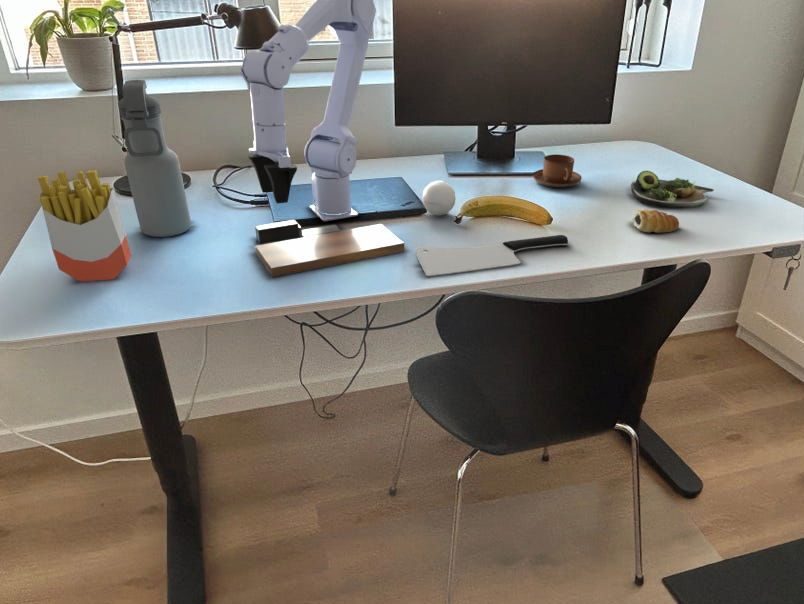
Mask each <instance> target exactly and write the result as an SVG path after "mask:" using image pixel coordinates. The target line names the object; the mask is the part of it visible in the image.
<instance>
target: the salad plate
mask: <svg viewBox="0 0 804 604" xmlns="http://www.w3.org/2000/svg"><path fill="white" fill-rule="evenodd" d="M695 183H696V181H694V180H693V182H692V183H691V182H690V180H689V179H684V178H683V179H682V178H679V177H676V178H675V179H670V180H666V179H659V177H658V175H657V174H656V173H655V172H653V171H651V170H642V171H641V172H639V174H638V175H637V177H636V179H635V180H632V182H631V183H630V188H631V193H632V196H633V198H634V199H635V201H637V202H639V203H641V204H643V205H646V206H650V207H656V208H695V207H698V206H700V205H702V204H704V203H706V202H707V201H708V197H707V196H706V195H705V194H706V193H711V192H712V193H713V192H714V191H715V190H714V188H710V187H706V186H701V185H696V184H695Z"/></svg>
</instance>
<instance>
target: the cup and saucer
mask: <svg viewBox="0 0 804 604" xmlns="http://www.w3.org/2000/svg"><path fill="white" fill-rule="evenodd" d="M574 165H575V158H574V157H572V156H569V155H565V154H548V155H545V156H544V157H543V168H542V169H538V170H536V171H534V172H533V174H532V178H533V179H534V181H536V182H537V183H538V184H540V185H542V186H545V187H552V188H570V187H574V186H576V185H578V184H579V183H580V182H581V181H582V179H583V177H582V175H581V174H580V173H578V172H576V171H574Z"/></svg>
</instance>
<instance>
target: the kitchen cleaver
mask: <svg viewBox="0 0 804 604" xmlns="http://www.w3.org/2000/svg"><path fill="white" fill-rule="evenodd" d="M568 244H569V238H568V237H567V236H566V235H564V234H556V235H549V236H540V237H532V238H524V239H523V238H522V239H515V240H509V241H504V242H502V243H495V244H485V245H475V246H455V247H453V246H452V247H434V246H433V247H432V246H418V247H416V248H415V254H416V257H417V259H418V263H419V264H420V266H421V267H422V270H423V272H424V275H425V276H426V277H436V276H445V275H453V274H459V273H467V272H474V271H475V272H476V271H482V270H490V269H496V268H497V269H498V268H505V267H511V266H517V265H520V264H521V260H520V259H519V258H517V256H516V255H515V253H517V252H522V251H531V250H537V249H546V248H555V247H567V246H568Z"/></svg>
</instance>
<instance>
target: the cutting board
mask: <svg viewBox="0 0 804 604" xmlns="http://www.w3.org/2000/svg"><path fill="white" fill-rule="evenodd" d="M254 248H255V255H256V256H257V257H258V259H259V260H260V262H261V263H262V264H263V266H264V267H265V269H266V270H267V271H268V273H269V275H270V276H271V277H272V278H276V277H282V276H286V275H290V274H296V273H297V274H298V273H301V272H307V271H312V270H316V269H322V268H326V267H332V266H336V265H342V264H343V265H344V264H347V263H352V262H357V261H358V262H359V261H362V260H367V259H372V258H373V259H374V258H377V257H378V258H379V257H383V256H388V255H393V254H398V253H403V252H405V242H404V241H403V240H402V239H400V238H399V236H397V235H395V234H394V233H393V232H392V231H391V230H390V229H388V227H386V226H385V225H384V224H383V223H377V224H371V225H367V226H361V227H355V228H349V229H343V230H341V231H337V232H331V233H326V234H320V235H314V236H308V237H303V236H302V237H296V238H290V239H285V240H279V241H273V242H267V243H262V244H258V245H257V244H256V245H255V247H254Z"/></svg>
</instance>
